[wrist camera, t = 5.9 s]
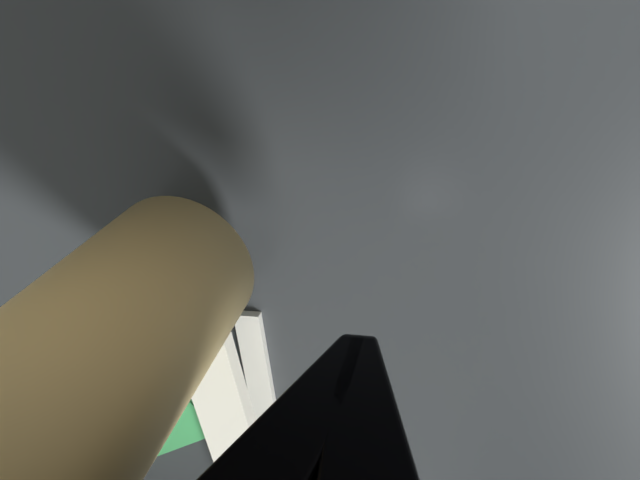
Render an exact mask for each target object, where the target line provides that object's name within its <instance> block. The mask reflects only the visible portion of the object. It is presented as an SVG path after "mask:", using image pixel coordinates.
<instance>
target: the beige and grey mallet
mask: <svg viewBox="0 0 640 480" xmlns="http://www.w3.org/2000/svg"><path fill="white" fill-rule="evenodd" d="M253 287H254V269H253V264H252V260H251V257H250V254H249V252H248V250H247V248H246V245H245V244H244V242H243V240H242V239H241V237H240V236H239V235H238V233H237V232H236V231H235V229H234V228H233V227H232V226H231V225H230V224H229V223H228V222H227V221H226V220H225V219H223V218H222V217H221V216H220V215H219V214H217V213H216V212H214V211H213V210H211V209H210V208H208V207H206V206H204V205H202V204H200V203H197V202H195V201H192V200H189V199H185V198H182V197H175V196H156V197H150V198H147V199H144V200H141V201H139V202H137V203H135V204H134V205H133V206H131V207H130V208H128V209H127V210H126V211H125V212H123V213H122V214H121V215H119V216H118V217H117V218H115V219H114V220H113V221H112V222H110V223H109V224H108V225H106V226H105V227H104V228H102V229H101V230H100V231H99V232H97V233H96V234H95V235H93V236H92V237H91V238H89V239H88V240H87V241H86V242H84V243H83V244H82V245H80V246H79V247H78V248H76V249H75V250H74V251H73V252H71V253H70V254H69V255H67V256H66V257H65V258H63V259H62V260H61V261H60V262H58V263H57V264H56V265H54V266H53V267H52V268H50V269H49V270H48V271H47V272H45V273H44V274H43V275H41V276H40V277H39V278H38V279H36V280H35V281H34V282H32V283H31V284H30V285H28V286H27V287H26V288H25V289H23V290H22V291H21V292H19V293H18V294H17V295H15V296H14V297H13V298H12V299H10V300H9V301H8V302H6V303H5V304H4V305H2V306H1V307H0V480H143V479H144V477H145V476H146V474H147V472H148V471H149V469H150V467H151V466H152V464H153V462H154V461H155V459H156V457H157V456H158V454H159V452H160V450H161V449H162V447H163V445H164V444H165V442H166V440H167V439H168V437H169V435H170V434H171V432H172V430H173V429H174V427H175V425H176V423H177V422H178V420H179V418H180V417H181V415H182V413H183V412H184V410H185V408H186V407H187V405H188V403H189V401H190V400H191V399H192V402H193V404H194V407H195V410H196V413H197V416H198V419H199V422H200V425H201V428H202V431H203V433H204V436H205V439H206V442H207V445H208V448H209V451H210V454H211V457H212V459H213V462H215V461H216V460H217V459H218V458H219V457H220V456H221V455H222V454H223V453H224V452H225V451H226V450H227V449H228V448H229V447H230V446H231V445H232V444H233V443H234V442H235V441H236V440H237V439H238V438H239V437H240V436H241V435H242V434H243V433H244V432H245V431H246V430H247V429H248V428H249V427H250V426H251V425H252V424H253V423H254V422H255V421H256V418H255V414H254V411H253V407H252V404H251V400H250V397H249V393H248V389H247V386H246V382H245V379H244V375H243V372H242V368H241V364H240V361H239V357H238V354H237V350H236V347H235V343H234V340H233V336H232V332H231V331H232V329H233V327H234V326H235V324H236V322H237V320H238V319H239V317H240V315H241V314H242V312H243V310H244V309H245V307H246V305H247V304H248V302H249V300H250V297H251V295H252V291H253Z"/></svg>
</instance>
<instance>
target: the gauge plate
mask: <svg viewBox="0 0 640 480" xmlns="http://www.w3.org/2000/svg"><path fill="white" fill-rule="evenodd" d="M156 196H175V197H182V198H185V199H189V200H192V201H195V202H197V203H200V204H202V205H204V206H206V207H208V208H210V209H211V210H213V211H214V212H216V213H217V214H219V215H220V216H221V217H222V218H223V219H225V220H226V221H227V222H228V223H229V224H230V225H231V226H232V227H233V228H234V229H235V231H236V232H237V233H238V235H239V236H240V237H241V239H242V240H243V242H244V244H245V245H246V248H247V250H248V252H249V254H250V257H251V260H252V264H253V269H254V287H253V291H252V295H251V297H250V300H249V302H248V304H247V305H246V307H245V309H244V310H243V312H242V314H241V315H240V317H239V319H238V320H237V322H236V324H235V326H234V327H233V329H232V331H231V332H232V336H233V340H234V343H235V347H236V350H237V354H238V357H239V361H240V364H241V368H242V372H243V375H244V379H245V382H246V386H247V389H248V393H249V397H250V400H251V404H252V407H253V411H254V414H255V418H256V420H257V419H258V418H259V417H260V416H261V415H262V414H263V413H264V412H265V411H266V410H267V409H268V408H269V407H270V406H271V405H272V404H273V403H274V402H275V401H276V400H277V399H278V398H279V397H280V396H281V395H282V394H283V393H284V392H285V391H286V390H287V389H288V388H289V387H290V386H291V385H292V384H293V383H294V382H295V381H296V380H297V379H298V378H299V377H300V376H301V375H302V374H303V373H304V372H305V371H306V370H307V369H308V368H309V367H310V366H311V365H312V364H313V363H314V362H315V361H316V360H317V359H318V358H319V357H320V356H321V355H322V354H323V353H324V352H325V351H326V350H327V349H328V348H329V347H330V346H331V345H332V344H333V343H334V342H335V341H336V340H337V339H338V338H339V337H340V336H342V335H344V334H354V335H366V336H374V337H376V338H377V340H378V343H379V346H380V350H381V353H382V356H383V360H384V363H385V366H386V369H387V373H388V376H389V379H390V383H391V386H392V389H393V393H394V396H395V399H396V402H397V406H398V409H399V412H400V416H401V419H402V422H403V426H404V429H405V432H406V435H407V439H408V442H409V445H410V449H411V452H412V455H413V459H414V462H415V465H416V468H417V472H418V475H419V478H420V480H640V0H0V307H1V306H2V305H4V304H5V303H6V302H8V301H9V300H10V299H12V298H13V297H14V296H15V295H17V294H18V293H19V292H21V291H22V290H23V289H25V288H26V287H27V286H28V285H30V284H31V283H32V282H34V281H35V280H36V279H38V278H39V277H40V276H41V275H43V274H44V273H45V272H47V271H48V270H49V269H50V268H52V267H53V266H54V265H56V264H57V263H58V262H60V261H61V260H62V259H63V258H65V257H66V256H67V255H69V254H70V253H71V252H73V251H74V250H75V249H76V248H78V247H79V246H80V245H82V244H83V243H84V242H86V241H87V240H88V239H89V238H91V237H92V236H93V235H95V234H96V233H97V232H99V231H100V230H101V229H102V228H104V227H105V226H106V225H108V224H109V223H110V222H112V221H113V220H114V219H115V218H117V217H118V216H119V215H121V214H122V213H123V212H125V211H126V210H127V209H128V208H130V207H131V206H133V205H134V204H135V203H137V202H139V201H141V200H144V199H147V198H150V197H156ZM213 463H214V462H213V459H212V457H211V454H210V451H209V448H208V445H207V442H206V439H205V436H204V433H203V431H202V428H201V425H200V422H199V419H198V416H197V413H196V410H195V407H194V404H193V402H192V399H191V400H190V401H189V403H188V405H187V407H186V408H185V410H184V412H183V413H182V415H181V417H180V418H179V420H178V422H177V423H176V425H175V427H174V429H173V430H172V432H171V434H170V435H169V437H168V439H167V440H166V442H165V444H164V445H163V447H162V449H161V450H160V452H159V454H158V456H157V457H156V459H155V461H154V462H153V464H152V466H151V467H150V469H149V471H148V472H147V474H146V476H145V477H144V479H143V480H196V479H197V478H198V477H199V476H200V475H201V474H203V473H204V472H205V471H206V470H207V469H208V468H209V467H210V466H211V465H212V464H213Z"/></svg>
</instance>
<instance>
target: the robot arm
mask: <svg viewBox="0 0 640 480" xmlns="http://www.w3.org/2000/svg"><path fill="white" fill-rule="evenodd" d="M196 480H420V478H419V475H418V472H417V468H416V465H415V462H414V459H413V455H412V452H411V449H410V445H409V442H408V439H407V435H406V432H405V429H404V426H403V422H402V419H401V416H400V412H399V409H398V406H397V402H396V399H395V396H394V393H393V389H392V386H391V383H390V379H389V376H388V373H387V369H386V366H385V363H384V360H383V356H382V353H381V350H380V346H379V343H378V340H377V338H376V337H374V336H366V335H354V334H344V335H342V336H340V337H339V338H338V339H337V340H336V341H335V342H334V343H333V344H332V345H331V346H330V347H329V348H328V349H327V350H326V351H325V352H324V353H323V354H322V355H321V356H320V357H319V358H318V359H317V360H316V361H315V362H314V363H313V364H312V365H311V366H310V367H309V368H308V369H307V370H306V371H305V372H304V373H303V374H302V375H301V376H300V377H299V378H298V379H297V380H296V381H295V382H294V383H293V384H292V385H291V386H290V387H289V388H288V389H287V390H286V391H285V392H284V393H283V394H282V395H281V396H280V397H279V398H278V399H277V400H276V401H275V402H274V403H273V404H272V405H271V406H270V407H269V408H268V409H267V410H266V411H265V412H264V413H263V414H262V415H261V416H260V417H259V418H258V419H257V420H256V421H255V422H254V423H253V424H252V425H251V426H250V427H249V428H248V429H247V430H246V431H245V432H244V433H243V434H242V435H241V436H240V437H239V438H238V439H237V440H236V441H235V442H234V443H233V444H232V445H231V446H230V447H229V448H228V449H227V450H226V451H225V452H224V453H223V454H222V455H221V456H220V457H219V458H218V459H217V460H216V461H215V462H214V463H213V464H212V465H211V466H210V467H209V468H208V469H207V470H206V471H205V472H204V473H203V474H201V475H200V476H199V477H198V478H197V479H196Z"/></svg>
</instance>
